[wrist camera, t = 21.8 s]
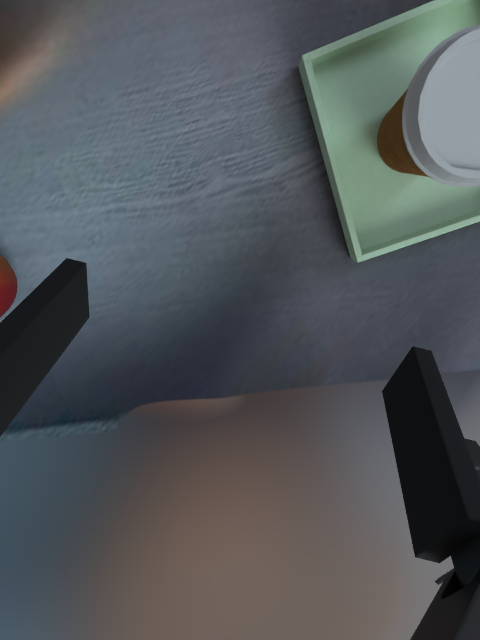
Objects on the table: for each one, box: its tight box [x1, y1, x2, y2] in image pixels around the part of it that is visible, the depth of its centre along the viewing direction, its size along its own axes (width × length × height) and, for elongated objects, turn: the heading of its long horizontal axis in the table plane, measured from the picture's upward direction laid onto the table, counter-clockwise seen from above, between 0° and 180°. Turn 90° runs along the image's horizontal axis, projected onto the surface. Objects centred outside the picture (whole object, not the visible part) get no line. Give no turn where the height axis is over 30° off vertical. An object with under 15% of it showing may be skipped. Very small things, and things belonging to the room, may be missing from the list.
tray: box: [298, 0, 480, 263], centre depth 34 cm, size 18×16×3 cm
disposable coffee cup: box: [377, 24, 480, 187], centre depth 29 cm, size 10×10×12 cm
